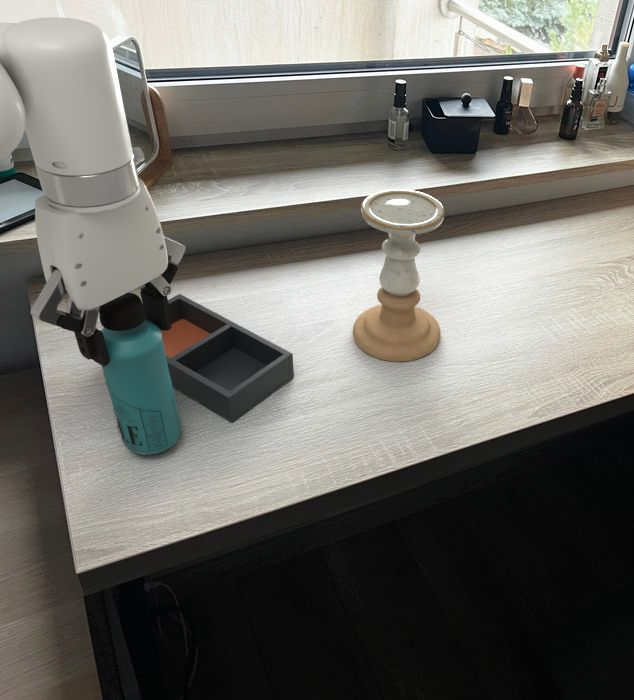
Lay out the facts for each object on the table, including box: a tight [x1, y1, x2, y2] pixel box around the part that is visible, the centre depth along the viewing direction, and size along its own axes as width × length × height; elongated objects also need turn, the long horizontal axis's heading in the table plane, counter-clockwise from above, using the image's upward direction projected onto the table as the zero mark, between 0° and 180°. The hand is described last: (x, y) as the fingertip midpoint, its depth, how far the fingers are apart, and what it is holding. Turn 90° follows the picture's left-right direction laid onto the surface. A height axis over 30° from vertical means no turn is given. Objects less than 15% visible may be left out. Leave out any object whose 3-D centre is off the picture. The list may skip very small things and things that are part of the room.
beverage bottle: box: [98, 292, 183, 456], centre depth 76 cm, size 6×7×20 cm
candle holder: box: [352, 188, 445, 363], centre depth 96 cm, size 12×12×20 cm
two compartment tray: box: [145, 293, 295, 424], centre depth 92 cm, size 11×20×4 cm, turn 58°
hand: (129, 340), depth 73 cm, fingers closed on beverage bottle, 6 cm apart
